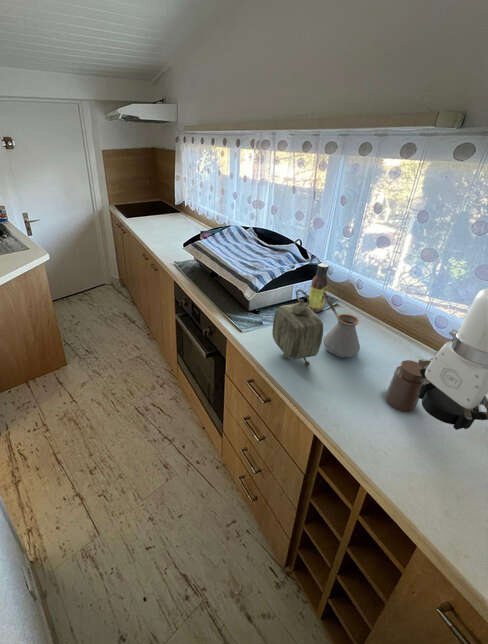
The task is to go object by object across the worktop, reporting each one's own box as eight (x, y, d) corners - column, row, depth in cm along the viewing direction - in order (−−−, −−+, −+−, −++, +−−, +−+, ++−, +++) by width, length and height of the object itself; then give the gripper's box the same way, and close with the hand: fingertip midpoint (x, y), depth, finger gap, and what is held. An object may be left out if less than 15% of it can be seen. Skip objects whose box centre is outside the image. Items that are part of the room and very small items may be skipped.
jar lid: (428, 419, 65) (433, 410, 64) (415, 393, 72) (420, 384, 70) (470, 428, 63) (477, 418, 62) (453, 400, 70) (459, 391, 68)
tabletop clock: (314, 368, 97) (331, 301, 86) (289, 373, 96) (302, 305, 84) (291, 341, 110) (302, 279, 98) (268, 345, 108) (277, 282, 96)
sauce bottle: (322, 313, 126) (332, 269, 116) (306, 311, 128) (315, 267, 118) (322, 305, 131) (331, 263, 122) (306, 303, 133) (315, 261, 124)
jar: (409, 394, 88) (425, 361, 82) (419, 414, 82) (436, 380, 76) (381, 389, 90) (395, 356, 84) (389, 408, 84) (403, 374, 78)
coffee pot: (365, 359, 101) (378, 321, 94) (333, 363, 100) (343, 325, 93) (329, 323, 120) (337, 289, 113) (302, 325, 118) (308, 292, 111)
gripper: (421, 326, 66) (394, 386, 74) (514, 385, 51) (468, 451, 59) (448, 321, 68) (419, 380, 76) (546, 377, 53) (497, 442, 61)
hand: (441, 411), depth 68 cm, fingers closed on jar lid, 7 cm apart
